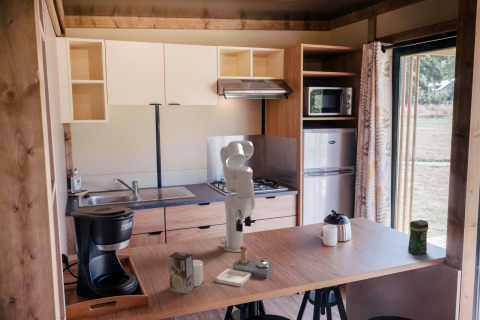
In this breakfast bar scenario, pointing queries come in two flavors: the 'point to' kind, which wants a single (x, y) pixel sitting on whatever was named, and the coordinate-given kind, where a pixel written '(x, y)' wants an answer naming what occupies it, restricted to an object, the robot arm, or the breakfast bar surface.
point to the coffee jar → (418, 237)
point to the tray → (233, 277)
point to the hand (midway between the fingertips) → (243, 228)
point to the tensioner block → (255, 267)
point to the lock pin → (243, 255)
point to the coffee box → (181, 272)
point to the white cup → (197, 272)
